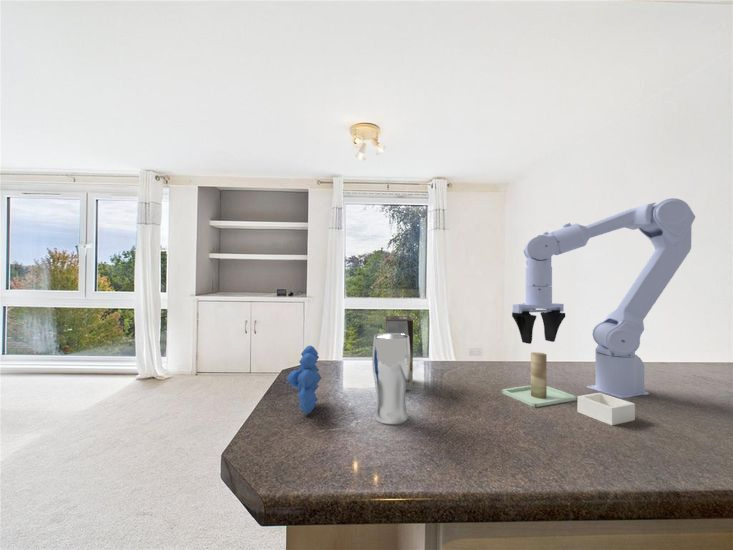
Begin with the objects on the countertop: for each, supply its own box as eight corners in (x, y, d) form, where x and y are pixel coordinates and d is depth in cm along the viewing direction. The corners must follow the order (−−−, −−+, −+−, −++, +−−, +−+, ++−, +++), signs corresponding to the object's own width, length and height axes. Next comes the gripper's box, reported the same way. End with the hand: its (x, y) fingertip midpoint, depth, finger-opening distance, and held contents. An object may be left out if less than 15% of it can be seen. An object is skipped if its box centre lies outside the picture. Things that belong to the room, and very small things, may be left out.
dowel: (537, 392, 73) (537, 351, 73) (549, 397, 70) (549, 354, 70) (527, 394, 72) (527, 353, 72) (539, 399, 69) (539, 356, 69)
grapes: (290, 398, 70) (291, 341, 70) (322, 397, 70) (323, 341, 71) (280, 422, 58) (281, 354, 58) (319, 421, 59) (320, 353, 59)
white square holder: (599, 410, 65) (599, 392, 65) (634, 423, 59) (634, 403, 59) (577, 414, 63) (577, 396, 63) (611, 428, 57) (611, 408, 57)
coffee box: (413, 390, 75) (414, 320, 76) (385, 390, 76) (385, 319, 76) (409, 378, 85) (409, 315, 85) (384, 378, 85) (385, 315, 85)
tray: (541, 388, 77) (541, 383, 77) (577, 402, 69) (577, 396, 69) (500, 395, 73) (500, 389, 73) (534, 410, 65) (534, 404, 65)
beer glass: (413, 413, 63) (413, 334, 63) (405, 428, 56) (406, 340, 56) (378, 408, 65) (378, 331, 65) (366, 422, 58) (367, 337, 59)
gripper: (546, 285, 87) (546, 337, 87) (503, 285, 82) (502, 340, 82) (571, 286, 80) (571, 342, 80) (526, 286, 75) (526, 346, 75)
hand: (538, 342), depth 80 cm, fingers open, 7 cm apart
